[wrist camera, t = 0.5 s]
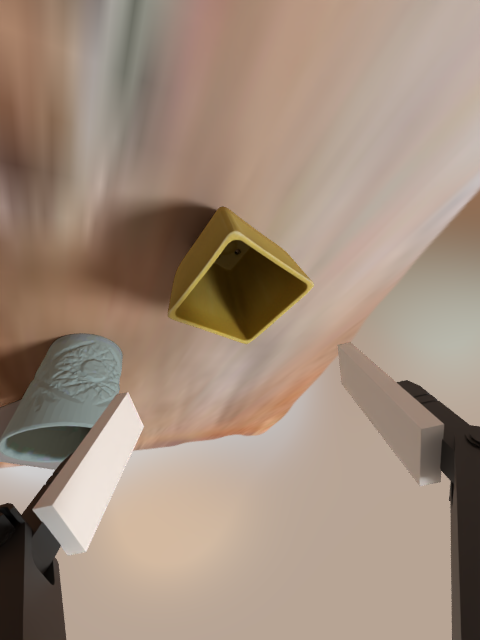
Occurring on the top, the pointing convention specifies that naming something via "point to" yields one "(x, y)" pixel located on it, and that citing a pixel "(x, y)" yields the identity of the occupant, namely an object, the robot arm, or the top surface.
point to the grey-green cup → (64, 399)
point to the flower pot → (235, 281)
